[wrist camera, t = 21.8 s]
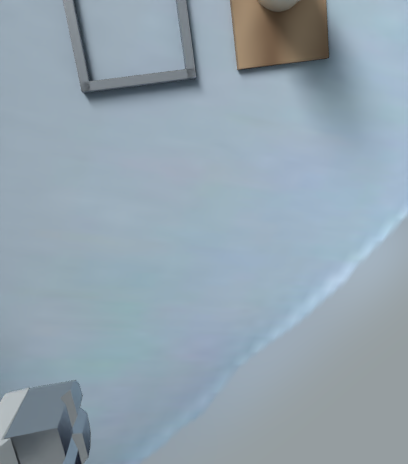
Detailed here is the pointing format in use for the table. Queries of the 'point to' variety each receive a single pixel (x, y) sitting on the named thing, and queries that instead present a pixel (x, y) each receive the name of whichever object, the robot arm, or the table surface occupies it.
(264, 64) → the walnut pad
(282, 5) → the cylinder
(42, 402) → the robot arm
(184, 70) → the parts tray
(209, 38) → the table surface
